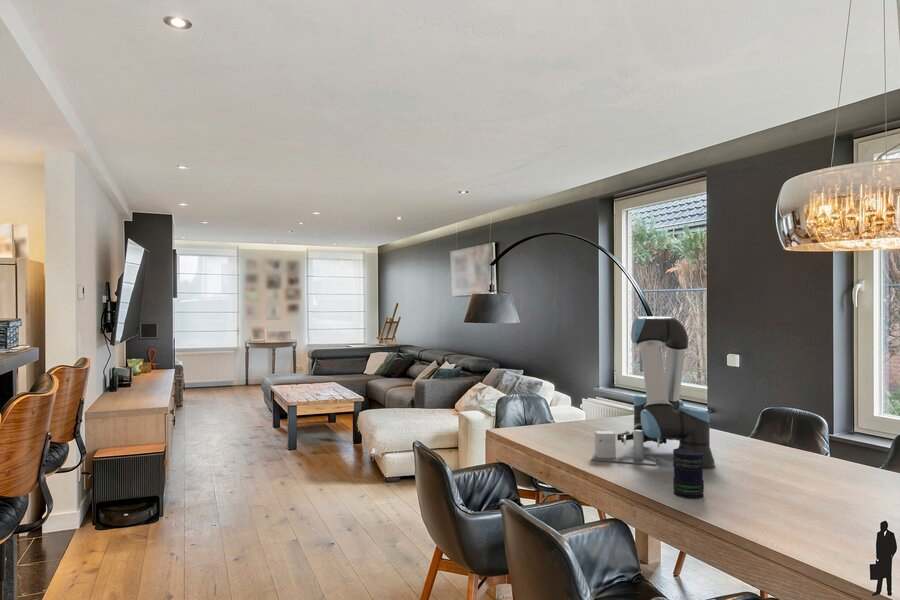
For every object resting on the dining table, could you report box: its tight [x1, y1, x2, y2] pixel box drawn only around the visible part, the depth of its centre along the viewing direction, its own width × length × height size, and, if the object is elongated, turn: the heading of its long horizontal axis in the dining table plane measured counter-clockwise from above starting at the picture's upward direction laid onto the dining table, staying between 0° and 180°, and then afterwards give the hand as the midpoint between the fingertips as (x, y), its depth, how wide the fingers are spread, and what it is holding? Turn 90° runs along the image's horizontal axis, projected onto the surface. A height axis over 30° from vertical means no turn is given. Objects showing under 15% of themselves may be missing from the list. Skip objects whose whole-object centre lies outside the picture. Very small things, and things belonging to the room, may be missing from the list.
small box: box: [594, 430, 617, 458], centre depth 250 cm, size 8×6×10 cm
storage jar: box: [672, 447, 705, 500], centre depth 200 cm, size 10×10×15 cm
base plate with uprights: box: [590, 429, 657, 466], centre depth 248 cm, size 26×12×13 cm, turn 71°
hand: (641, 442), depth 242 cm, fingers open, 13 cm apart
